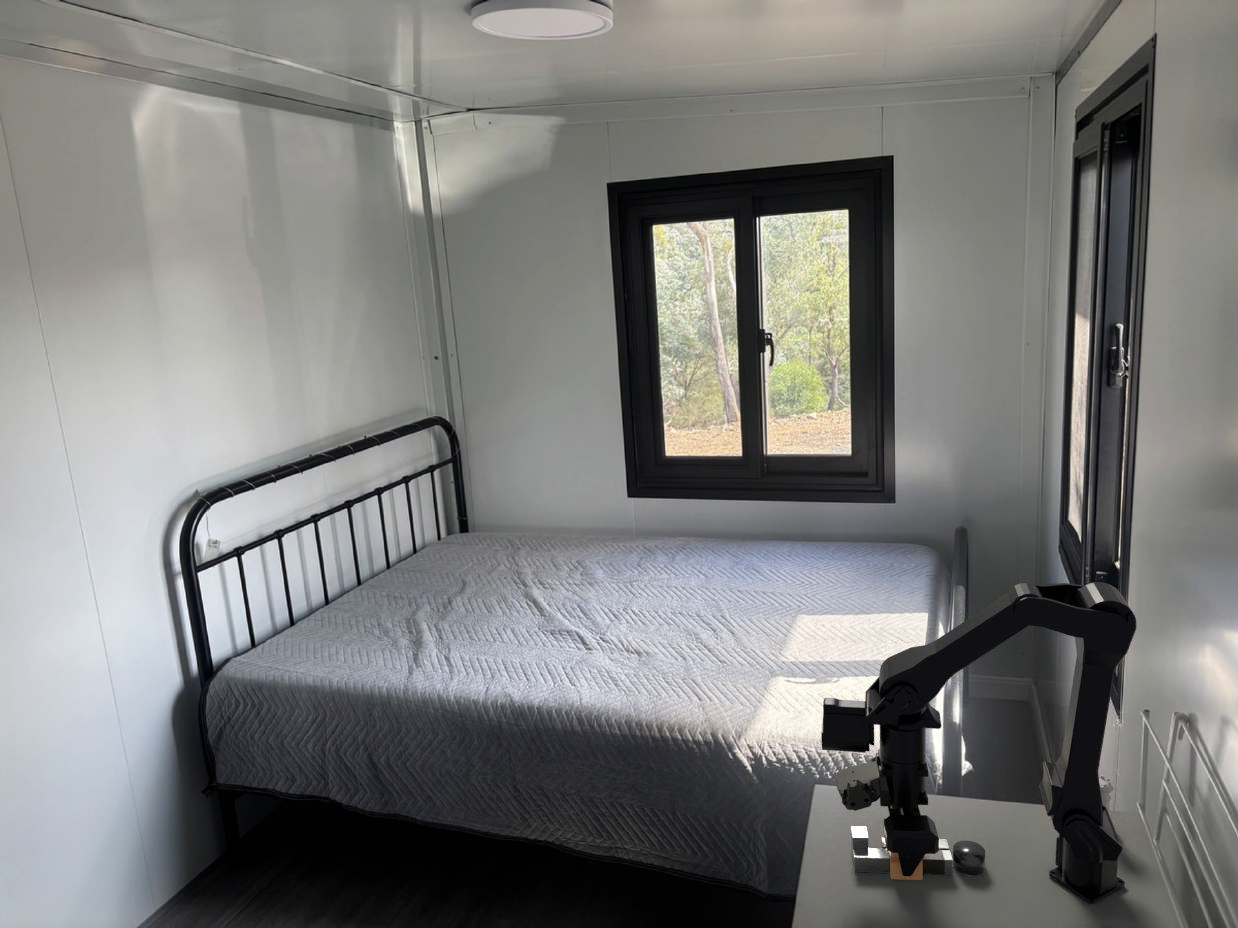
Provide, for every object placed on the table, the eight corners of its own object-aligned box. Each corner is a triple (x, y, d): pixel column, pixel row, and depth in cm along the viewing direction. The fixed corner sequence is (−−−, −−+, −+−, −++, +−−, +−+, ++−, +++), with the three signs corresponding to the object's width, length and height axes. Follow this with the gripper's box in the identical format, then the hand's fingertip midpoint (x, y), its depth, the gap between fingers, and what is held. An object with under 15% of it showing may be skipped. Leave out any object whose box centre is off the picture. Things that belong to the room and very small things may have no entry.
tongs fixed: (980, 855, 129) (981, 839, 128) (988, 875, 125) (988, 859, 124) (881, 852, 131) (881, 837, 130) (885, 872, 127) (885, 856, 126)
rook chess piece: (1108, 821, 134) (1111, 770, 132) (1121, 841, 130) (1124, 788, 128) (1074, 821, 134) (1077, 770, 132) (1086, 841, 130) (1089, 789, 128)
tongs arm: (946, 853, 129) (946, 828, 129) (952, 874, 125) (952, 849, 124) (851, 850, 131) (851, 826, 131) (854, 871, 127) (854, 846, 126)
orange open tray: (914, 845, 131) (914, 818, 130) (922, 879, 125) (922, 852, 124) (884, 844, 132) (883, 818, 131) (890, 878, 125) (890, 851, 124)
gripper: (834, 716, 135) (836, 813, 138) (845, 792, 117) (847, 902, 120) (915, 716, 133) (915, 815, 137) (940, 793, 115) (939, 905, 119)
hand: (902, 856), depth 128 cm, fingers closed on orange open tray, 7 cm apart
